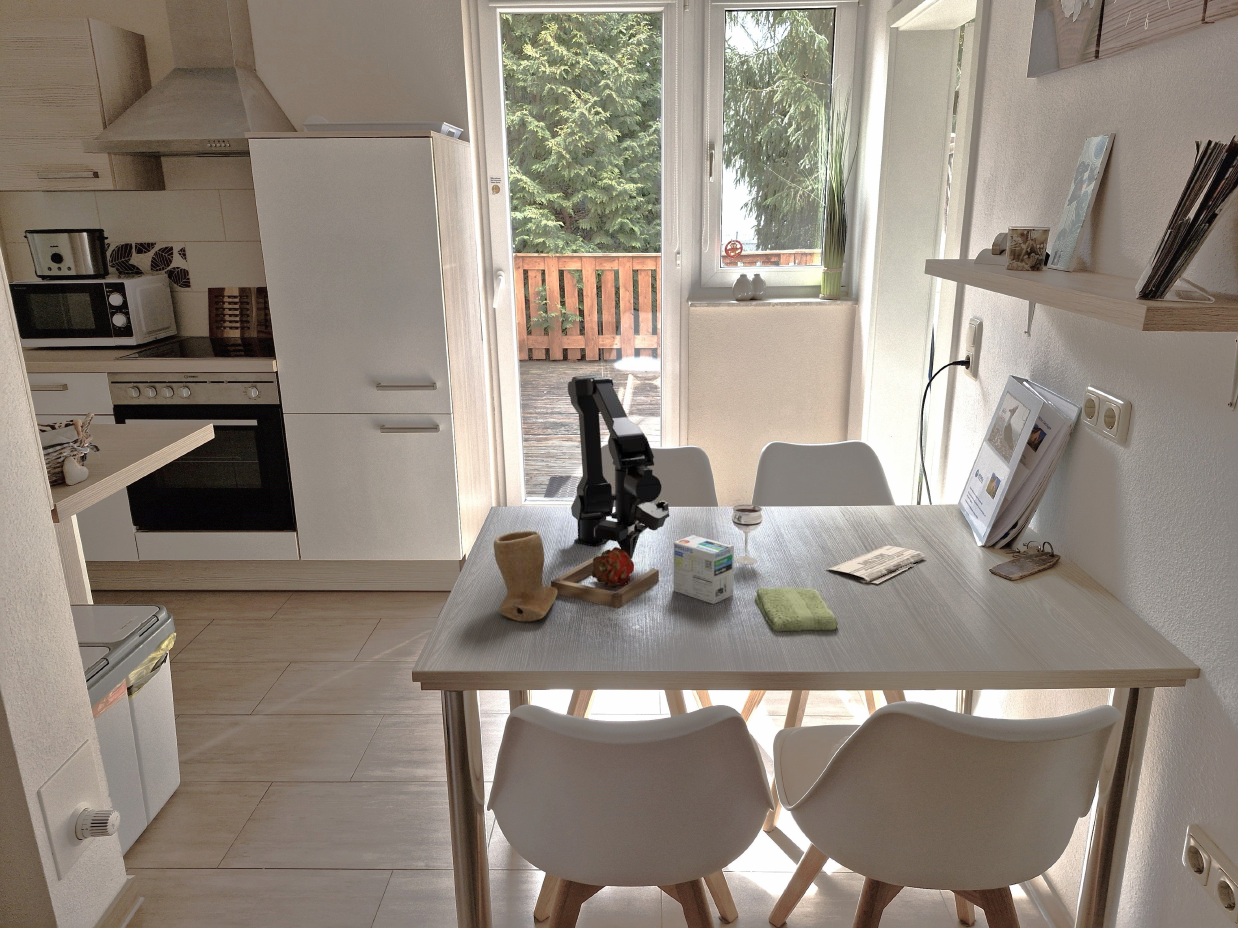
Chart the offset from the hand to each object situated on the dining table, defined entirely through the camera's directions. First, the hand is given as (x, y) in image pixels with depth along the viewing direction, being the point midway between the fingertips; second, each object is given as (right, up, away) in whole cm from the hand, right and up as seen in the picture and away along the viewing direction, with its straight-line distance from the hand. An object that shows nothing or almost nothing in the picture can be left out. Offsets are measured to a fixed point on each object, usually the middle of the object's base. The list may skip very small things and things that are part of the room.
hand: (629, 559), depth 190 cm
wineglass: (+26, -1, +7) cm, 27 cm away
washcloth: (+31, -9, -21) cm, 39 cm away
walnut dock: (-5, -5, -7) cm, 9 cm away
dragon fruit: (-3, -5, -6) cm, 8 cm away
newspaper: (+55, -3, +3) cm, 55 cm away
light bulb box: (+15, -6, -11) cm, 20 cm away
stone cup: (-21, -8, -18) cm, 28 cm away
